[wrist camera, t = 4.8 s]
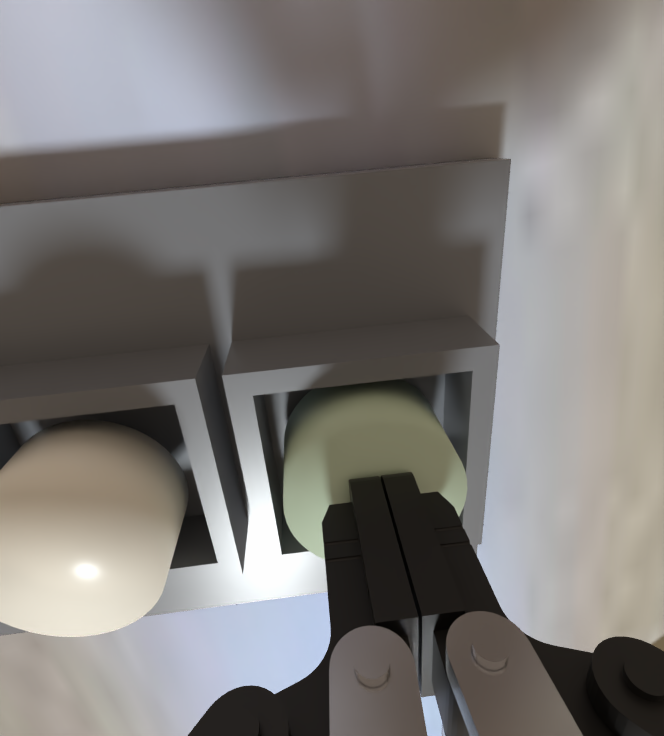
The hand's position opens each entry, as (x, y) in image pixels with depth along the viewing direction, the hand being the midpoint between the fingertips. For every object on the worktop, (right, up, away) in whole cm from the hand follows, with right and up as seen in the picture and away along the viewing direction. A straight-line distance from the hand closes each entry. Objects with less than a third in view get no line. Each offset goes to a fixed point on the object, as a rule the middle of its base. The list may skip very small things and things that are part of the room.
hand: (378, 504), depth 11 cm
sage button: (0, +1, +2) cm, 3 cm away
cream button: (-7, 0, +1) cm, 7 cm away
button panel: (-7, +1, +3) cm, 8 cm away
